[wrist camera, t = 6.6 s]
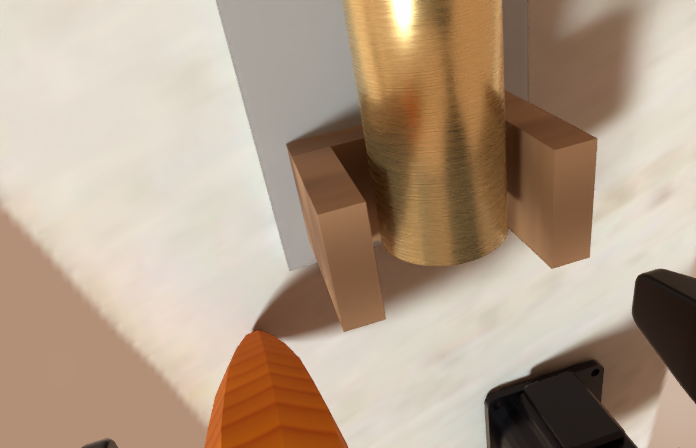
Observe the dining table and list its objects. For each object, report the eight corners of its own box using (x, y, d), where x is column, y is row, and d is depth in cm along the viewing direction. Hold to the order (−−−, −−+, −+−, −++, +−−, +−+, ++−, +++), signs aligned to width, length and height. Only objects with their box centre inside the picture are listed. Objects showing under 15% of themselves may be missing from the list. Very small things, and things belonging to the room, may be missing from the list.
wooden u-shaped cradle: (505, 187, 22) (589, 257, 17) (309, 242, 21) (343, 332, 16) (502, 89, 20) (597, 138, 15) (285, 143, 19) (317, 215, 14)
